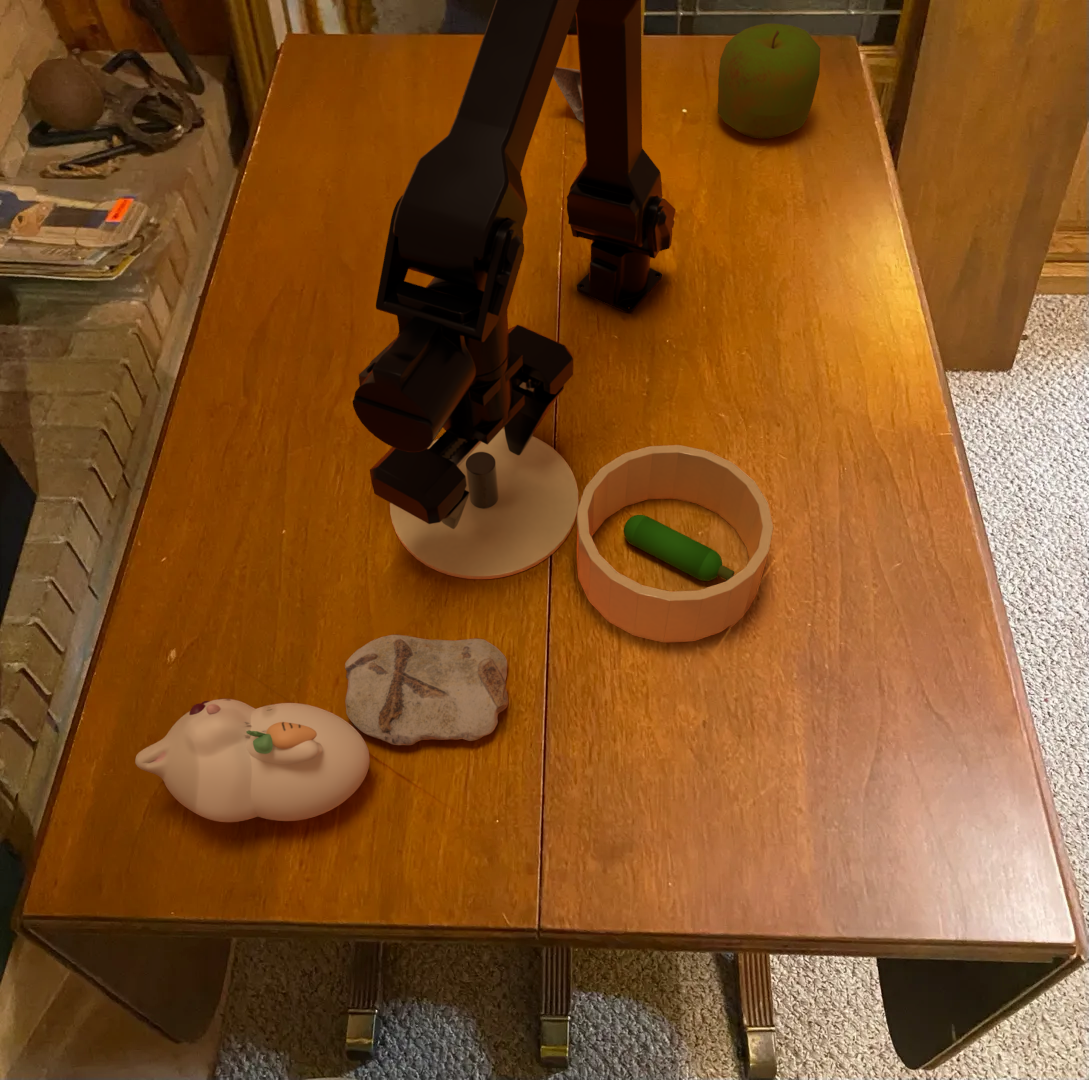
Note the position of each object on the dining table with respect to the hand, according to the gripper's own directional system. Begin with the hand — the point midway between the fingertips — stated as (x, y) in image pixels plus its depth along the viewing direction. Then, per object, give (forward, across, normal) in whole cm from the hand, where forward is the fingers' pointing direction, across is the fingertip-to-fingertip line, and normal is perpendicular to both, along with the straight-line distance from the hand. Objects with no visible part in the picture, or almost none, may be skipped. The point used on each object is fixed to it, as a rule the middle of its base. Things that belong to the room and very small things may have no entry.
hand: (483, 487), depth 84 cm
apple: (+2, -63, -6) cm, 63 cm away
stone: (+3, +17, +7) cm, 19 cm away
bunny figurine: (+2, +28, +2) cm, 28 cm away
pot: (+2, -3, +16) cm, 16 cm away
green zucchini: (+2, -3, +16) cm, 16 cm away
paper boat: (+2, -52, -23) cm, 57 cm away
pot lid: (+2, 0, 0) cm, 2 cm away
